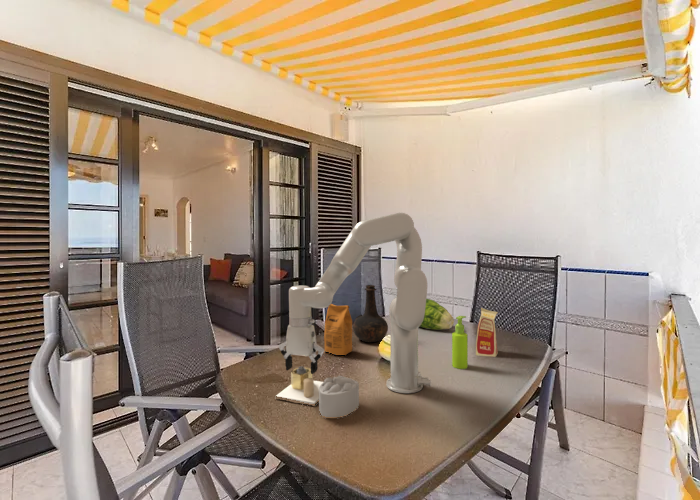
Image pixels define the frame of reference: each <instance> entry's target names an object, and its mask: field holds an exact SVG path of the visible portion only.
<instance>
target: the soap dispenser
mask: <svg viewBox="0 0 700 500" xmlns="http://www.w3.org/2000/svg"><path fill="white" fill-rule="evenodd" d="M464 318H465V319H466V318H467V316H466V315H458V316H456V317H455V319H456V320H457V323H456V324H455V326H454V327H455V329H454V332H452V334H451V341H452V342H451V348H452V349H451V353H452V354H451V363H452V365H451V366H452V367H453V368H454V369H457V370H465V369H467V368H468V367H469V366H468V365H469V364H468V362H469V361H468V356H469V355H468V351H469V350H468V347H469V346H468V342H469V341H468V333H466V332H465V325H464V324H463V319H464Z"/></svg>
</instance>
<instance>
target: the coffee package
mask: <svg viewBox="0 0 700 500" xmlns="http://www.w3.org/2000/svg"><path fill="white" fill-rule="evenodd" d="M323 331H324V333H323V334H324V335H323V341H324V346H323V347H324V352H325V351H326V352H329V353H328V354H330V353H332V354H336V355H345V356H346V355H347V354H349V353H351V352H352V351H353V340H352V339H353V319H352V316H351V313H350V306H349V305H335V304H333V303H331V304H330V305H329V306H328V307H327V312H326V317H325V321H324V330H323ZM332 354H331V355H332Z"/></svg>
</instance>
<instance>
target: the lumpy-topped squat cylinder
mask: <svg viewBox="0 0 700 500" xmlns="http://www.w3.org/2000/svg"><path fill="white" fill-rule="evenodd" d="M322 382H323V383H322V384H321V385H320V387H319V402H318V412H319V411H320V413H321V415H322V416H325V417H340V416H344V415H347V414H349V413H351V412H353V411H354V410H355V409H356V408H357V409H358V408H359V407H360V397H359V396H360V390H359V389H360V388H359V387H360V386H359V383H360V382H358V380H355V379H353V378H350V377H345V376H343V375H337V376H334V377H330V376H329V377H326V378H324V380H323V381H322ZM358 406H359V407H358ZM357 409H356V410H357ZM356 410H355V411H356ZM355 411H354V412H355ZM354 412H353V413H354ZM320 413H319V414H320ZM351 414H352V413H351ZM321 415H320V416H321Z"/></svg>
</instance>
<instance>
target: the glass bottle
mask: <svg viewBox="0 0 700 500" xmlns="http://www.w3.org/2000/svg"><path fill="white" fill-rule="evenodd" d="M364 290H365V304H364V305H365V307H364V312H363V314H359V315H358V316H356V318H355V319H354V322H353V323H352V332H353V333H354V335H355V336H356V337H357V339H359V340H360V341H361V340H362V341H361V342H364V341H365V343H377V342H380V341H381V340H383V339H384V338H385V337H386V335H387V334H388V332H389V326H388V325H389V324H388V322H387V321H386V320H385V318H383V317H382V316H381V315H380V314H379V312H378V309H377V301H376V291H377V290H378V289H377V288H376V286H375V285H373V284H367V285H365V288H364ZM383 337H384V338H383Z"/></svg>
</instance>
